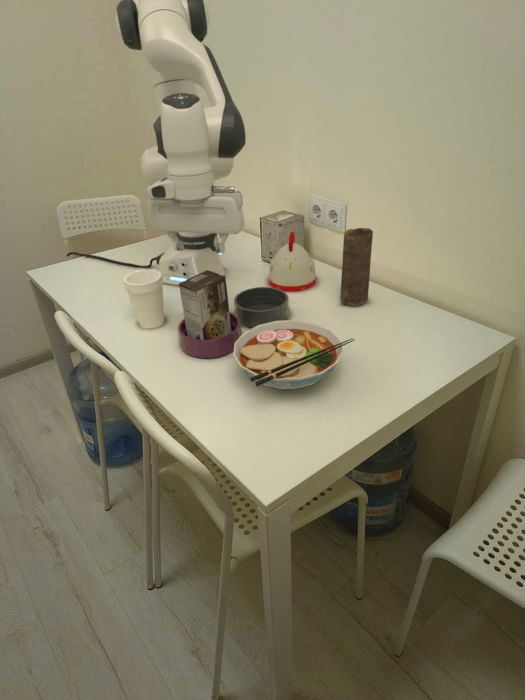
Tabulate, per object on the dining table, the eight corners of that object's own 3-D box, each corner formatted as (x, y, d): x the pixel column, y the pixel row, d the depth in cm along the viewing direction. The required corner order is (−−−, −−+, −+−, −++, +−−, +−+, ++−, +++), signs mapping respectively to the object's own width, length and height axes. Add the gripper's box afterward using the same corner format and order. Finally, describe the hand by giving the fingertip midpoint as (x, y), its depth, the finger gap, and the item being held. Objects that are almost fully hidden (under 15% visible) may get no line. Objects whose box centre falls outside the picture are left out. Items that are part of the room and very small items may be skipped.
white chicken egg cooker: (266, 291, 139) (263, 241, 130) (272, 271, 150) (270, 224, 142) (314, 292, 136) (314, 241, 128) (317, 272, 148) (317, 224, 140)
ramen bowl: (303, 335, 117) (303, 305, 112) (368, 380, 100) (371, 347, 96) (212, 370, 106) (208, 339, 102) (269, 427, 89) (267, 393, 85)
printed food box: (214, 328, 121) (207, 269, 112) (232, 336, 117) (227, 275, 108) (187, 344, 115) (177, 282, 106) (205, 352, 111) (196, 290, 103)
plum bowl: (171, 356, 112) (167, 338, 109) (193, 325, 124) (191, 307, 121) (231, 362, 108) (229, 343, 106) (248, 329, 121) (247, 311, 118)
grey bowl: (229, 326, 122) (227, 309, 119) (243, 301, 134) (242, 285, 131) (282, 331, 119) (282, 313, 116) (293, 305, 130) (292, 288, 128)
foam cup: (134, 334, 121) (123, 287, 114) (132, 317, 129) (122, 272, 122) (171, 327, 123) (163, 281, 116) (168, 311, 131) (160, 267, 124)
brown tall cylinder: (367, 309, 126) (372, 236, 115) (339, 308, 128) (342, 235, 117) (367, 296, 132) (373, 225, 122) (341, 295, 134) (344, 225, 123)
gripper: (245, 182, 96) (250, 247, 104) (152, 181, 101) (163, 243, 108) (237, 191, 91) (242, 259, 99) (139, 189, 96) (151, 254, 103)
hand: (200, 251), depth 104 cm, fingers open, 8 cm apart
